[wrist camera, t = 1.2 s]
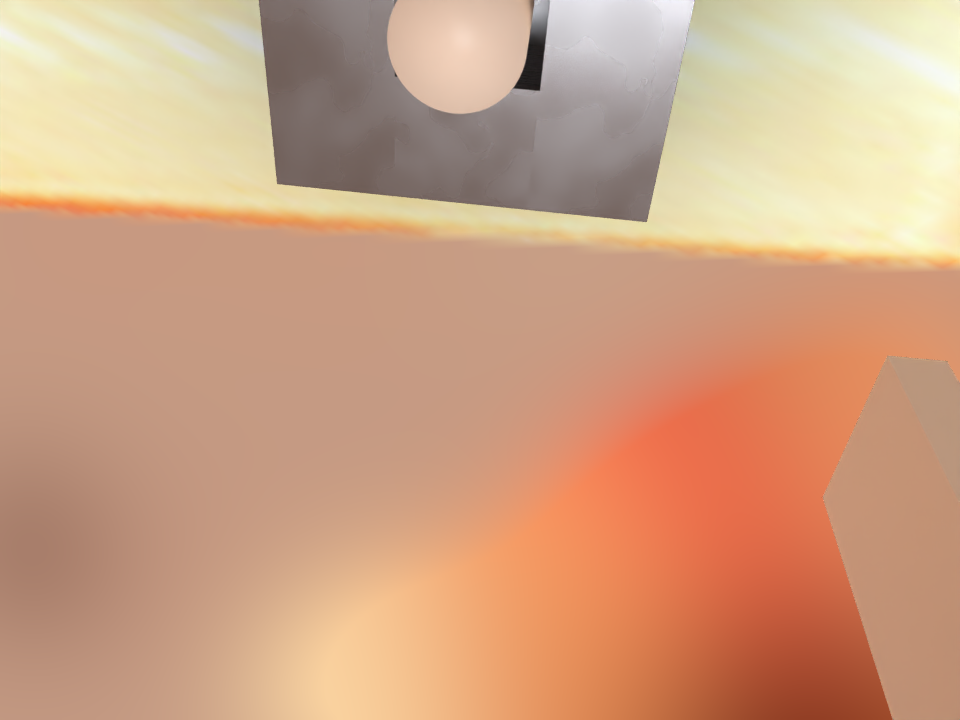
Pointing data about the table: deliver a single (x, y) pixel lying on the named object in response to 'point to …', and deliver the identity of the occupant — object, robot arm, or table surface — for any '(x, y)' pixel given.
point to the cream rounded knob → (459, 50)
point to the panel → (490, 132)
